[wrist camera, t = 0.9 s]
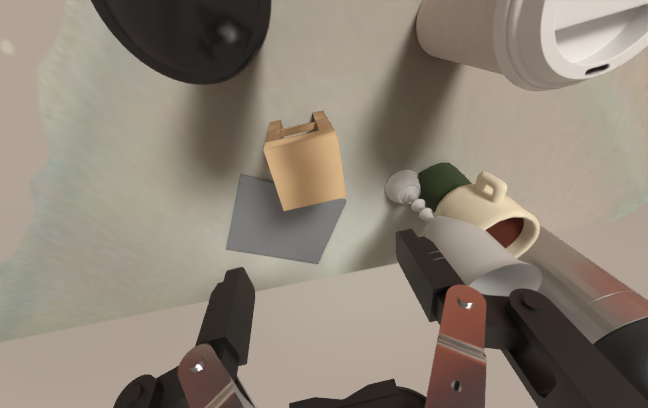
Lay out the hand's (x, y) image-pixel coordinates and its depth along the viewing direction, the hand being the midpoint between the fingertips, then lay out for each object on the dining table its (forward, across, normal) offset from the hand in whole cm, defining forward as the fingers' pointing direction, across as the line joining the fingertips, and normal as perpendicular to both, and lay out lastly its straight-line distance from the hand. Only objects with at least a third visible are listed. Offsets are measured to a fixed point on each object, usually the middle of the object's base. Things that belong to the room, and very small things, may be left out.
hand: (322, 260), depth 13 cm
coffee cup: (+19, -17, -9) cm, 27 cm away
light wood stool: (+19, 0, 0) cm, 19 cm away
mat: (+19, +5, +11) cm, 22 cm away
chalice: (+19, -12, +9) cm, 24 cm away
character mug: (+19, -16, +10) cm, 27 cm away
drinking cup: (+19, +3, -12) cm, 23 cm away
